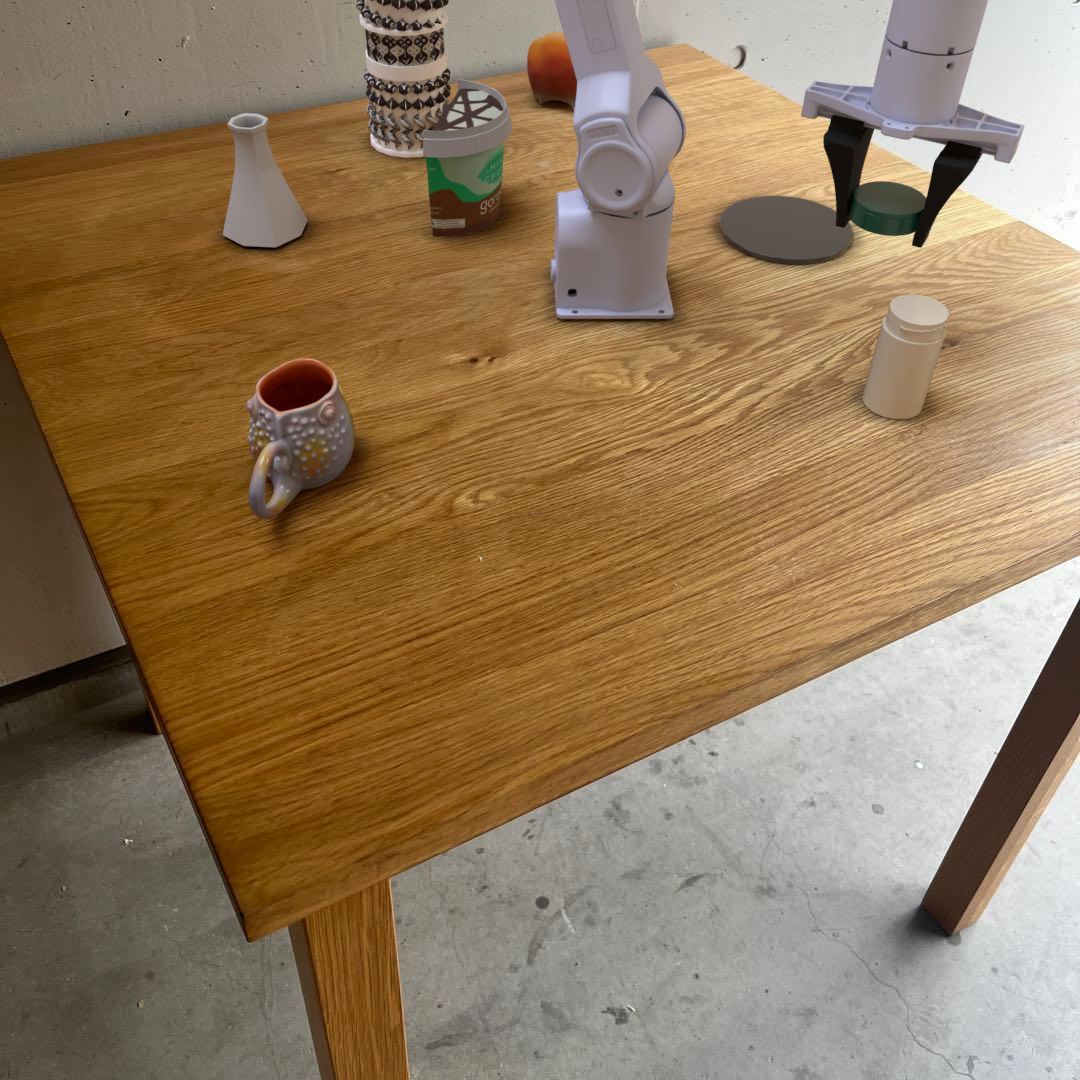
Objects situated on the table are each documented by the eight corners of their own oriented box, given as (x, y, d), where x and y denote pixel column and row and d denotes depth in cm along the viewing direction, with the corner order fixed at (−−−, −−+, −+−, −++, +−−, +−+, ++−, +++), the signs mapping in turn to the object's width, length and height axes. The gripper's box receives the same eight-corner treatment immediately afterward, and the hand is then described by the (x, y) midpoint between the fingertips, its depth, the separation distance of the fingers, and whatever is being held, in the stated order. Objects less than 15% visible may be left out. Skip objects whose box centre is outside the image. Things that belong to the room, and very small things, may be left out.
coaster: (730, 264, 96) (730, 259, 96) (710, 200, 105) (711, 195, 104) (866, 264, 96) (867, 259, 96) (835, 200, 105) (836, 195, 105)
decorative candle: (428, 166, 109) (413, -122, 91) (349, 148, 111) (319, -136, 94) (472, 132, 115) (465, -145, 97) (395, 115, 117) (375, -157, 100)
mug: (280, 423, 79) (266, 345, 74) (372, 438, 78) (363, 359, 73) (206, 536, 70) (185, 454, 65) (307, 554, 69) (293, 473, 64)
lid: (904, 243, 78) (910, 222, 77) (836, 221, 80) (841, 200, 79) (932, 215, 81) (938, 194, 80) (866, 195, 83) (871, 174, 82)
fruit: (516, 102, 117) (524, 21, 115) (527, 115, 124) (534, 39, 123) (592, 109, 116) (601, 27, 114) (598, 121, 123) (606, 44, 122)
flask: (208, 240, 97) (185, 129, 90) (253, 205, 102) (235, 97, 95) (279, 257, 95) (261, 145, 89) (321, 220, 100) (308, 111, 93)
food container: (495, 251, 97) (494, 140, 90) (428, 243, 98) (421, 132, 91) (524, 188, 106) (526, 83, 99) (462, 181, 106) (459, 76, 100)
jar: (883, 424, 80) (910, 331, 74) (850, 390, 83) (874, 298, 77) (934, 412, 81) (965, 320, 75) (900, 379, 84) (927, 288, 78)
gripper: (803, 37, 71) (768, 228, 81) (1032, 83, 67) (967, 281, 76) (836, 5, 76) (800, 190, 85) (1053, 46, 71) (989, 238, 81)
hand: (880, 231), depth 81 cm, fingers closed on lid, 5 cm apart
